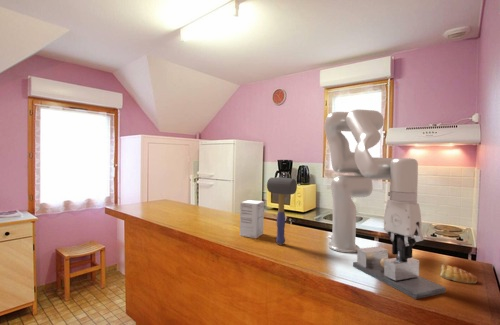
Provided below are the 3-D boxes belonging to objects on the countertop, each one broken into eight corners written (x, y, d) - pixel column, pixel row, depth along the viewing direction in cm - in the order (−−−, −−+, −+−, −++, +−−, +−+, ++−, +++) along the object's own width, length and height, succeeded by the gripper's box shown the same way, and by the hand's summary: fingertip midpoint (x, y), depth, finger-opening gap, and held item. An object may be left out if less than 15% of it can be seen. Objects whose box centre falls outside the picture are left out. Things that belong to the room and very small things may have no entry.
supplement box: (247, 231, 140) (248, 199, 140) (263, 233, 136) (264, 201, 136) (239, 235, 131) (239, 201, 131) (256, 238, 127) (256, 203, 127)
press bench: (352, 266, 95) (353, 248, 95) (378, 262, 99) (378, 245, 99) (415, 299, 72) (416, 275, 72) (445, 292, 77) (445, 270, 77)
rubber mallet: (264, 243, 120) (265, 177, 120) (272, 239, 126) (273, 176, 126) (289, 249, 113) (291, 178, 113) (296, 244, 119) (298, 177, 119)
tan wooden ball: (377, 268, 90) (377, 256, 90) (386, 267, 91) (386, 255, 91) (387, 273, 86) (387, 260, 86) (396, 271, 87) (396, 259, 87)
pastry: (475, 279, 87) (475, 268, 87) (478, 287, 81) (478, 275, 81) (439, 272, 92) (440, 261, 92) (440, 279, 86) (440, 267, 86)
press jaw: (384, 275, 83) (385, 234, 84) (407, 271, 87) (408, 231, 87) (395, 280, 80) (396, 237, 80) (418, 276, 83) (419, 234, 83)
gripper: (373, 194, 90) (372, 249, 90) (419, 201, 74) (418, 267, 74) (389, 194, 92) (388, 247, 92) (437, 200, 77) (436, 264, 77)
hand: (401, 255), depth 83 cm, fingers closed on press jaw, 3 cm apart
